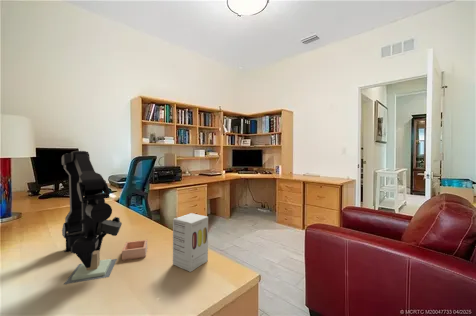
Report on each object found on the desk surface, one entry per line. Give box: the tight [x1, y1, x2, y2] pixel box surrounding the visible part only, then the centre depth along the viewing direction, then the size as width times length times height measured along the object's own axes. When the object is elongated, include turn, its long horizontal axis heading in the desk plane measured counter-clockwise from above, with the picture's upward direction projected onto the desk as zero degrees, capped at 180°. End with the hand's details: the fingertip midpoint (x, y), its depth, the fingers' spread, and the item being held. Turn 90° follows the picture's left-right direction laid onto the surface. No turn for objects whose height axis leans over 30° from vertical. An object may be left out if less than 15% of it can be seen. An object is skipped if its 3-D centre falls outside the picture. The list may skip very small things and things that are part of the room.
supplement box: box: [172, 212, 209, 273], centre depth 78 cm, size 10×9×17 cm
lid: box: [72, 249, 112, 280], centre depth 72 cm, size 9×9×6 cm
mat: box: [63, 258, 118, 285], centre depth 72 cm, size 12×12×1 cm
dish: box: [121, 239, 148, 261], centre depth 83 cm, size 8×8×4 cm
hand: (93, 260), depth 72 cm, fingers open, 9 cm apart
